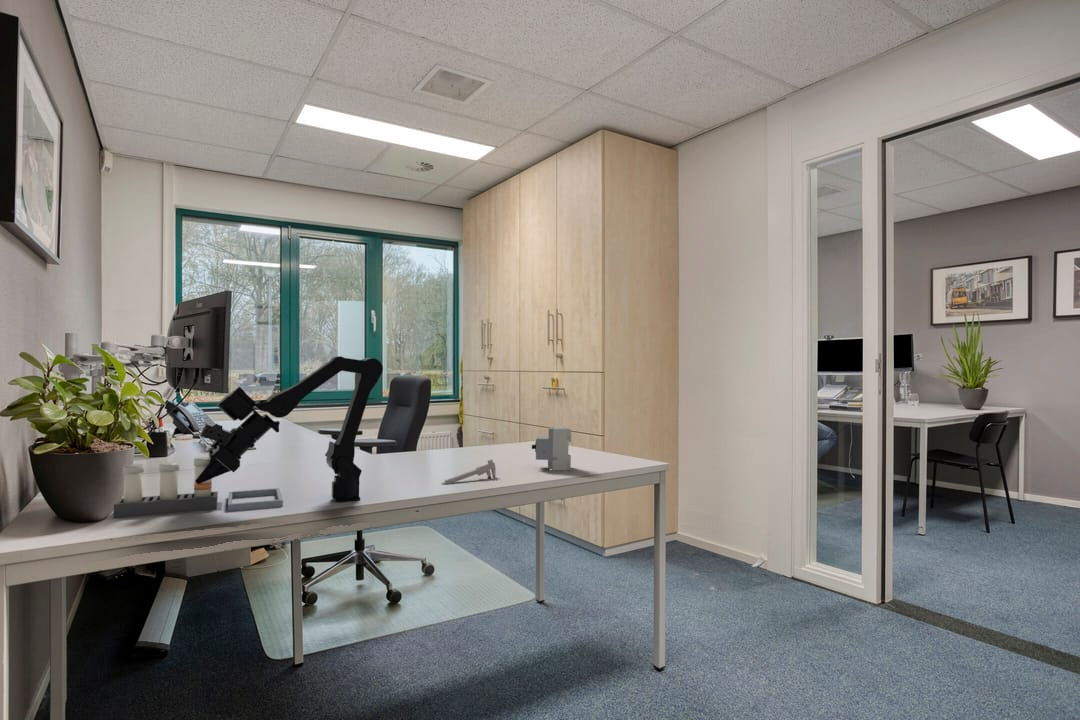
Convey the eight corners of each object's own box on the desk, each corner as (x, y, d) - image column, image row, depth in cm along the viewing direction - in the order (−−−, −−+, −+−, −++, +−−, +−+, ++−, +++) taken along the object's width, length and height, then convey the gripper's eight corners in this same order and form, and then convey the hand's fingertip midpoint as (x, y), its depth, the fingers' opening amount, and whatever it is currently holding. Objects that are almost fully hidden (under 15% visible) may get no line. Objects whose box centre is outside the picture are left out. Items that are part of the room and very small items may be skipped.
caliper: (493, 477, 193) (493, 458, 193) (495, 477, 192) (495, 459, 192) (441, 485, 179) (441, 464, 179) (443, 485, 178) (443, 465, 178)
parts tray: (279, 499, 156) (279, 488, 156) (282, 512, 142) (282, 500, 142) (228, 503, 150) (228, 491, 150) (227, 517, 137) (227, 504, 137)
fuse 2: (179, 507, 139) (180, 462, 139) (177, 511, 135) (178, 464, 135) (159, 509, 137) (160, 463, 137) (157, 513, 134) (158, 465, 134)
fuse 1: (144, 510, 136) (145, 463, 136) (141, 514, 132) (142, 466, 132) (123, 512, 134) (124, 464, 134) (120, 516, 130) (121, 467, 130)
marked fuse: (212, 501, 142) (213, 456, 142) (211, 504, 139) (212, 459, 139) (193, 502, 140) (194, 457, 140) (192, 506, 137) (193, 460, 137)
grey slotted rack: (222, 508, 145) (222, 490, 145) (221, 515, 138) (221, 497, 138) (113, 517, 135) (114, 498, 135) (106, 526, 128) (107, 506, 128)
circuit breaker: (532, 466, 214) (532, 425, 214) (570, 467, 213) (571, 426, 213) (530, 469, 206) (531, 428, 207) (570, 470, 206) (571, 429, 206)
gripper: (221, 408, 150) (169, 453, 144) (225, 414, 134) (167, 465, 128) (254, 437, 154) (205, 482, 148) (261, 446, 138) (207, 497, 132)
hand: (196, 481), depth 139 cm, fingers closed on marked fuse, 4 cm apart
